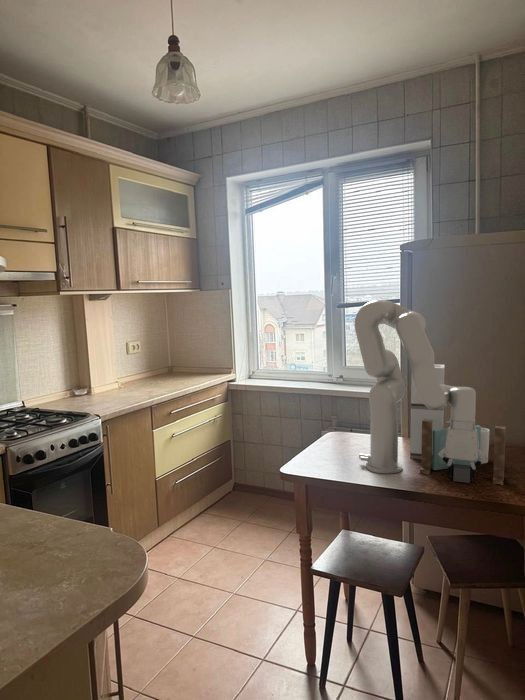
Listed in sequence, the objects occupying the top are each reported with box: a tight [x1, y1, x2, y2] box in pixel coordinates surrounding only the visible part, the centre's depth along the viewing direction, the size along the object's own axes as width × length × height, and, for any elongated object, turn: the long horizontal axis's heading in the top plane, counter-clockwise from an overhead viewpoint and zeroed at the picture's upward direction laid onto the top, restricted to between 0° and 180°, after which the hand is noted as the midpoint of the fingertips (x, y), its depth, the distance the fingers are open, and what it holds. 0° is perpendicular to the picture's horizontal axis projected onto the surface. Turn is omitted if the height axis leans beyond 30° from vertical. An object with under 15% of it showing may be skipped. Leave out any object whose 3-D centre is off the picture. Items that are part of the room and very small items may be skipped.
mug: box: [480, 427, 490, 465], centre depth 186 cm, size 10×7×12 cm, turn 131°
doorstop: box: [452, 464, 471, 484], centre depth 169 cm, size 5×14×4 cm, turn 160°
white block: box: [409, 363, 446, 460], centre depth 191 cm, size 11×11×35 cm
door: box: [432, 425, 482, 471], centre depth 177 cm, size 19×1×14 cm, turn 108°
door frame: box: [419, 419, 506, 486], centre depth 169 cm, size 26×8×18 cm, turn 62°
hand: (461, 477), depth 165 cm, fingers closed on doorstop, 5 cm apart
